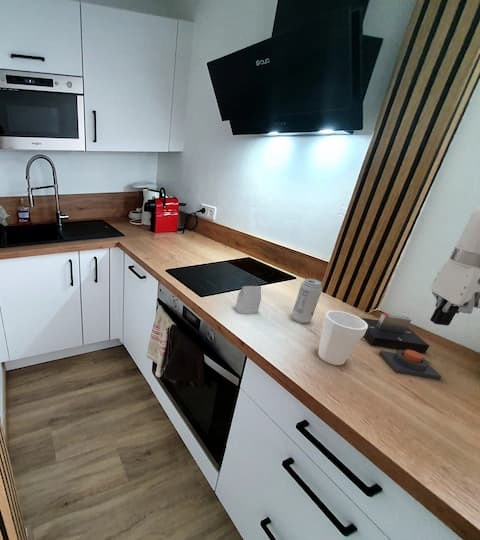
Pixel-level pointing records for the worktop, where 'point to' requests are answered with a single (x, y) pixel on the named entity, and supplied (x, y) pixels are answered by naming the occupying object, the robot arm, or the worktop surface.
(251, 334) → the worktop surface
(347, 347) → the foam cup
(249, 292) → the grey tapered block
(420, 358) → the button
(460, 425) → the worktop surface
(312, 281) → the energy drink can
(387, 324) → the lever
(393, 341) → the tap deck
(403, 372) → the button block
